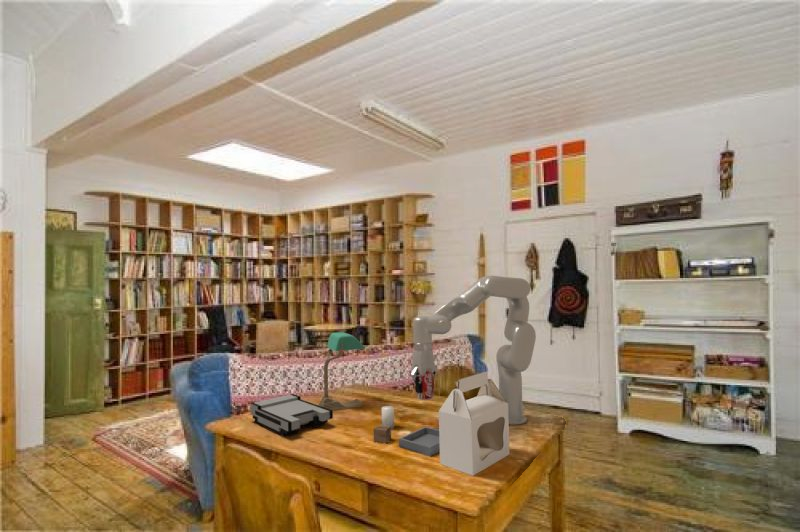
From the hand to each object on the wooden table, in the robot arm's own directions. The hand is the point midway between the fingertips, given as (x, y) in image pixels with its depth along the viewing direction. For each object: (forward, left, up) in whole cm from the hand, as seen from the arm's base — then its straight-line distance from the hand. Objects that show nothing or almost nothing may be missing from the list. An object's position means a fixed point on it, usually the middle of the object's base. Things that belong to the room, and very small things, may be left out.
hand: (425, 390), depth 177 cm
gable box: (+15, +32, -15) cm, 38 cm away
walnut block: (+21, -4, -15) cm, 27 cm away
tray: (+14, +12, -15) cm, 24 cm away
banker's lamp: (+1, -49, -15) cm, 52 cm away
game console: (+31, -49, -16) cm, 60 cm away
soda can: (0, 0, -4) cm, 4 cm away
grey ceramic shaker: (+9, -12, -15) cm, 22 cm away
